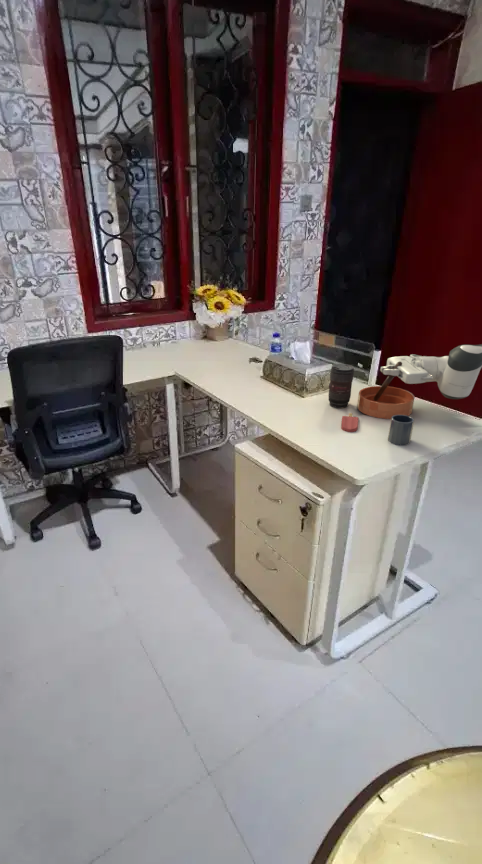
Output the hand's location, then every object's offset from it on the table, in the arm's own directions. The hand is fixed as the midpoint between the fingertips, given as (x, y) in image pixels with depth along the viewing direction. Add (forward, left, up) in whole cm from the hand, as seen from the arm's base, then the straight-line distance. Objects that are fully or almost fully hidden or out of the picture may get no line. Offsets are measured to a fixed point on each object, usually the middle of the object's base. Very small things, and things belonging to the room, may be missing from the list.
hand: (382, 370), depth 147 cm
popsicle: (+16, +11, -14) cm, 24 cm away
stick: (+1, 0, -11) cm, 11 cm away
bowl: (-1, +3, -14) cm, 14 cm away
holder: (+8, +27, -14) cm, 32 cm away
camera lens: (+12, -6, -14) cm, 20 cm away
